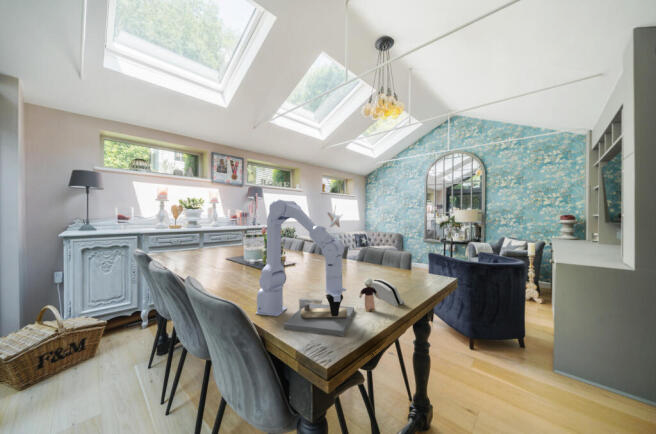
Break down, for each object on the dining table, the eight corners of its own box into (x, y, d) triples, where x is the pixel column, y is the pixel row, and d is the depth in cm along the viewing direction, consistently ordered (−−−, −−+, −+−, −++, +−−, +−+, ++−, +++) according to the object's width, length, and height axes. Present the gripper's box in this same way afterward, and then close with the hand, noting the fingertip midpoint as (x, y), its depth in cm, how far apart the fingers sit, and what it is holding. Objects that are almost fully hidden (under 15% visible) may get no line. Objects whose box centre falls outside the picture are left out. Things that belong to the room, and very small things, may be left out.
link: (299, 318, 78) (299, 307, 79) (301, 313, 83) (301, 302, 83) (347, 318, 78) (347, 306, 78) (346, 313, 83) (346, 302, 83)
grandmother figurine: (374, 307, 93) (374, 275, 93) (379, 310, 89) (379, 278, 89) (357, 310, 90) (357, 277, 90) (362, 313, 87) (361, 280, 87)
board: (283, 328, 75) (283, 324, 75) (305, 306, 95) (305, 303, 95) (343, 335, 70) (343, 331, 70) (354, 311, 89) (353, 307, 89)
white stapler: (405, 304, 95) (398, 283, 94) (397, 310, 93) (390, 288, 92) (381, 293, 110) (374, 274, 109) (373, 298, 108) (367, 279, 107)
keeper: (299, 310, 87) (299, 299, 87) (301, 308, 89) (301, 297, 89) (320, 312, 84) (320, 301, 85) (322, 310, 86) (322, 299, 86)
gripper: (349, 280, 72) (350, 324, 71) (341, 271, 86) (342, 307, 86) (327, 281, 71) (328, 326, 71) (323, 271, 85) (324, 308, 85)
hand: (334, 316), depth 78 cm, fingers closed
